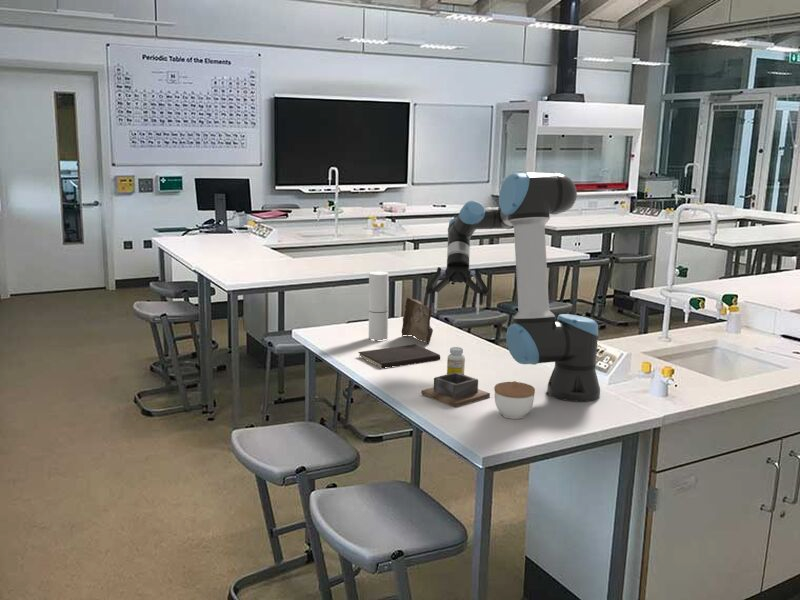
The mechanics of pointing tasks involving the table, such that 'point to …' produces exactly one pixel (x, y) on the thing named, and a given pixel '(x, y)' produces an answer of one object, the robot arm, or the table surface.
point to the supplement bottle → (455, 361)
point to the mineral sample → (417, 320)
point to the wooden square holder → (455, 390)
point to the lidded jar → (514, 399)
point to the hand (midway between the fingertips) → (456, 311)
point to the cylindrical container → (378, 305)
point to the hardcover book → (399, 355)
